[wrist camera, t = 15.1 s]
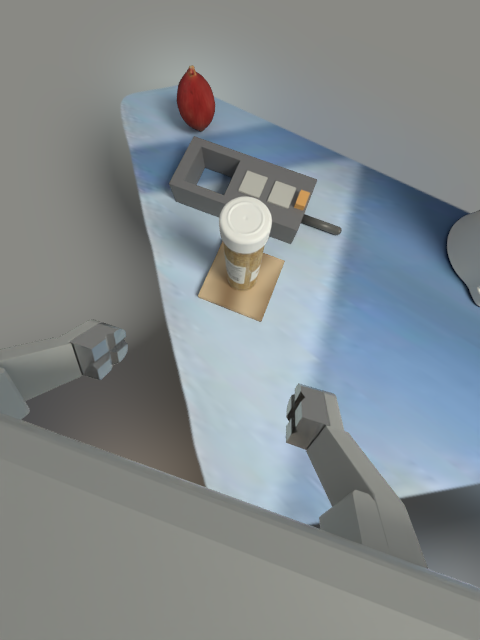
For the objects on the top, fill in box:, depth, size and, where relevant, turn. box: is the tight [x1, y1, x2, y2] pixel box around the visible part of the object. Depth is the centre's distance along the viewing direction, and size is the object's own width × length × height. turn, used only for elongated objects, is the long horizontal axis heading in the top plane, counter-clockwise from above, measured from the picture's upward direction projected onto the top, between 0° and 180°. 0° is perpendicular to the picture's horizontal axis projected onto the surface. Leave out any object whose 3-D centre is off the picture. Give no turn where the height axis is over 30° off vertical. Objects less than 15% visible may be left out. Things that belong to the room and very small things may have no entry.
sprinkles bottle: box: [219, 196, 272, 291], centre depth 23 cm, size 5×5×14 cm
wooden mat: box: [198, 241, 285, 322], centre depth 30 cm, size 10×10×1 cm
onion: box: [177, 66, 215, 131], centre depth 31 cm, size 6×6×8 cm
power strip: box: [169, 136, 342, 244], centre depth 31 cm, size 27×9×4 cm, turn 68°
